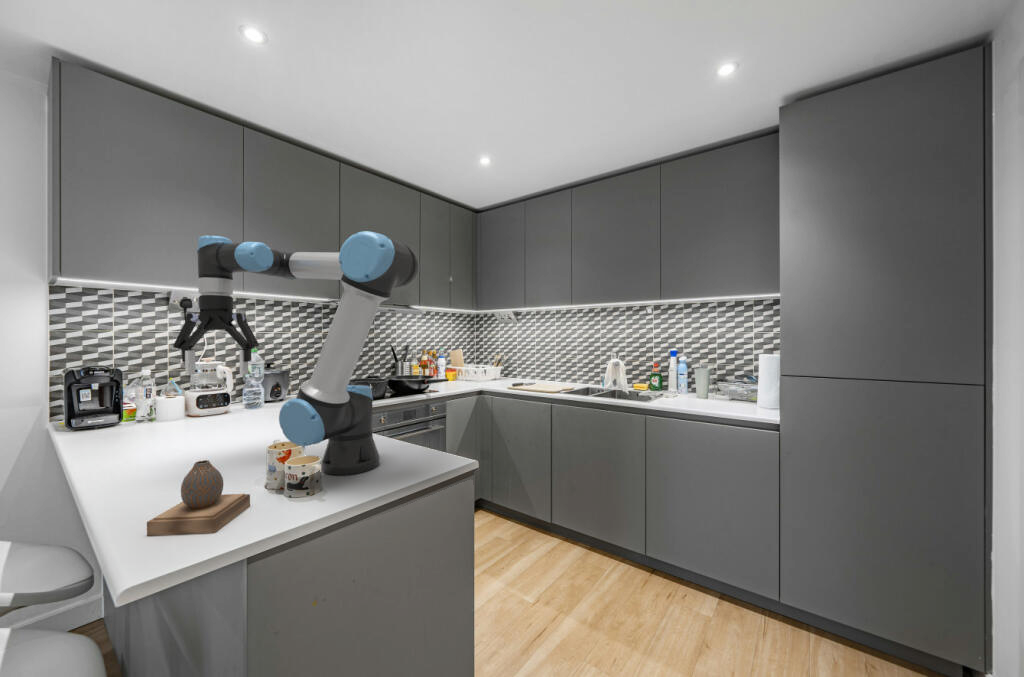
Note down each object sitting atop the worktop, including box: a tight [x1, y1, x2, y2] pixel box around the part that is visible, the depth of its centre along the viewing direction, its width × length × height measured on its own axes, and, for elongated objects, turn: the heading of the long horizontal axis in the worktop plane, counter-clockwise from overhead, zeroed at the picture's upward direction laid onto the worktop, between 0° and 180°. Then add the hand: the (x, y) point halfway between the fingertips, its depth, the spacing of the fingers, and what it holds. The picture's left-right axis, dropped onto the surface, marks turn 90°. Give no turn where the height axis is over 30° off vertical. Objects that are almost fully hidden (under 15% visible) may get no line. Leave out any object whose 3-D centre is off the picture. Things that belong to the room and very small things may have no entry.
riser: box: [146, 493, 251, 537], centre depth 83 cm, size 12×12×3 cm
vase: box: [180, 459, 224, 509], centre depth 83 cm, size 7×7×9 cm
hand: (217, 374), depth 110 cm, fingers open, 13 cm apart
